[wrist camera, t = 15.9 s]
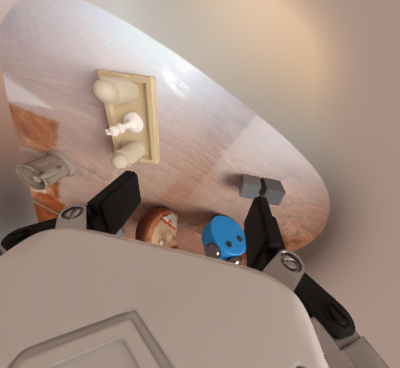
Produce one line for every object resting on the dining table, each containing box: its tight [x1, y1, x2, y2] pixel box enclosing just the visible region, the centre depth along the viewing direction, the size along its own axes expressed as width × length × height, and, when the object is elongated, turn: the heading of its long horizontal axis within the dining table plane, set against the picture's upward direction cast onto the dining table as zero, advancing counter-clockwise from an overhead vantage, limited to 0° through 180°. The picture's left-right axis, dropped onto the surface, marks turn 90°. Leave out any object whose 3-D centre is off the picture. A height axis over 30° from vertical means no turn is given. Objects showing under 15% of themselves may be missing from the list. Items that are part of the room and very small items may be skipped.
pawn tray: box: [92, 70, 160, 169], centre depth 34 cm, size 20×12×11 cm, turn 174°
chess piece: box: [105, 112, 143, 136], centre depth 34 cm, size 5×5×10 cm
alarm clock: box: [202, 215, 246, 265], centre depth 46 cm, size 13×6×15 cm, turn 62°
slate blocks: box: [239, 174, 286, 206], centre depth 40 cm, size 4×10×5 cm, turn 83°
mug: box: [16, 150, 76, 190], centre depth 46 cm, size 14×10×12 cm
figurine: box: [136, 208, 179, 250], centre depth 50 cm, size 14×16×15 cm
